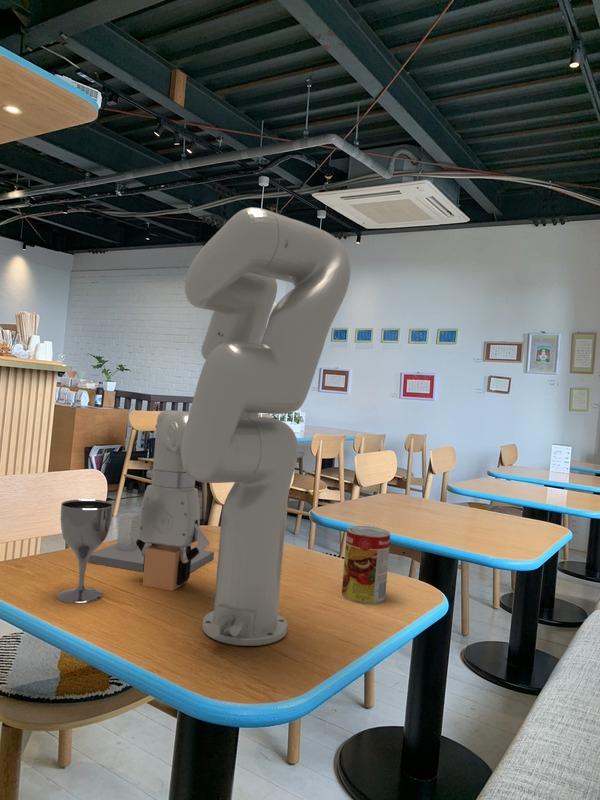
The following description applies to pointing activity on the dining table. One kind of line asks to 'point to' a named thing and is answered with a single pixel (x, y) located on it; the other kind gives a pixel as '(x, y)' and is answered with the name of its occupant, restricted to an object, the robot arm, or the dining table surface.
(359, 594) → the canned food
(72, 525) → the wine glass
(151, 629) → the dining table surface
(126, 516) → the steel post
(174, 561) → the tan cardboard box
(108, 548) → the post stand
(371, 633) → the dining table surface
